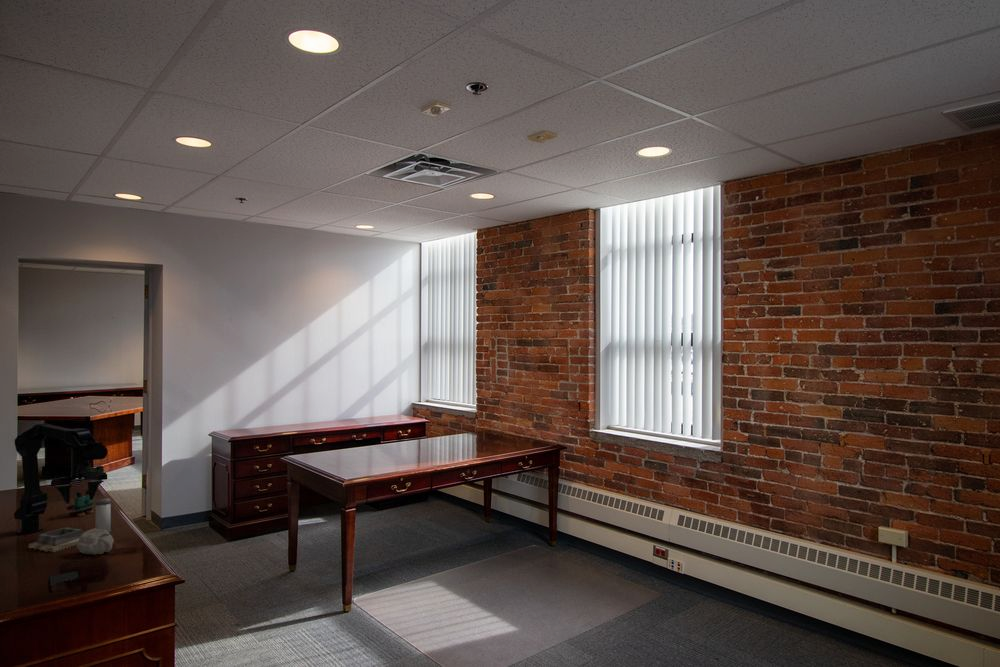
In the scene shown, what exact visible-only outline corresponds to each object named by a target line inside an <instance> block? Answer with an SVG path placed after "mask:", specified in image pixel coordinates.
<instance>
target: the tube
mask: <svg viewBox="0 0 1000 667" xmlns="http://www.w3.org/2000/svg"><path fill="white" fill-rule="evenodd" d="M111 503H112V498H101V499H97V500H95V501H94V506H95V528H96V529H104V530H107V531H108V532H110V533H111V524H112V522H111V516H112V515H111V514H112V513H111V511H112V510H111Z"/></svg>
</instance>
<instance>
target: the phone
mask: <svg viewBox="0 0 1000 667" xmlns="http://www.w3.org/2000/svg"><path fill="white" fill-rule="evenodd" d="M76 577H77V578H79V573H78V571H70V572H65V573H60V574H54V575H52V576H50V577H49V587H50V586H51V584H52V585H53V586H54V585H55V584H56V583H58V582H61V581H63V582H64V581H68V580H71V581H72V580H73V579H76Z"/></svg>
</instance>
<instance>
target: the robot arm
mask: <svg viewBox="0 0 1000 667" xmlns="http://www.w3.org/2000/svg"><path fill="white" fill-rule="evenodd" d="M47 437H52V438H55V439H59V440H63V442H64V443H66V444H68V445H69V447H68V448H67V449H66V450H67V451H71V463H70V464H69V465H68V468H71V469H70V470H71V472H70V475H69V474H68V476H64V477H63V476H62V477H55V478H54V477H53V478H52V479H51V481H50V487H52V486H53V488H54V489H57V490H58V492H59V493H60V495H61V496H62V499H63V500H64V502H65V504H70V501H71V500H70V499H71V498H70V497H71V493H70V492H71V488H72V485H73V484H72V485H71V483H77V482H78V483H80V482H85V481H88V482H87V490H89V498H90V500H93V501H94V497H95V494H96V492H97V490H98V488H99V486H101V484H102V483H105V480H108V474H107V473H106V472H105V470H104V466H103V465H97V466H96V467H95V466H94V467H93V464H92V462H90V461H96V460H97V461H99V460H103V459H105V458H106V457H107V456H108V453H109V451H108V450H109V449H108V448H107V446H105V445H104V444H103V441H97V439H96V438H95V437H94V436H93V435H92V432H90V430H89V428H67V427H63V426H58V425H54V424H50V423H47V422H46V423H45V422H44V423H38V424H35V425H33V426H32V427H31V428H28V430H26V431H23V432H22V433H21V434H19V435H17V436H16V438H14V446H15V450H16V452H17V454H19V456H20V457H21V463H22V465H21V466H22V474H23V475H22V477H23V488H24V493H23V494H22V496H21V499H20V500H19V501H20V502H19V507H18V509H16V510H15V512H14V513H13V517H14V520H20V521H19V523H20V524H19V525H20V526H19V527H20V530H16V532H17V533H16V534H20V533H23V534H22V535H29V534H28V533H30V534H33V533H36V532H35V531H37V532H39V530H40V531H43V530H44V528H43V527H42V528H41V527H40V516H41V515H45V512H46V509H47V507H48V503H49V500H48V494H47V492H45V493H44V492H43V491H42V489H41V484H40V483H41V482H40V473H39V472H40V471H39V460H38V459H39V458H38V454H39V452H40V450H41V448H42V442H43V441H44V440H45V439H46V438H47ZM32 532H33V533H32Z"/></svg>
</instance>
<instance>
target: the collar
mask: <svg viewBox="0 0 1000 667" xmlns="http://www.w3.org/2000/svg"><path fill="white" fill-rule="evenodd" d="M83 533H84V529H80V528H75V527H74V528H73V527H67V526H65V527H61V528H58V529H54V530H51V531H47V532H43V533H39V534H38V535H37V541H35V542H32V543H28V544H27V545H28V546H27V547H28V549H31V548H34V549H33V550H36V549H39V550H38V551H42V550H44V551H43V552H48V551H50V552H49V553H53V552H54V553H57V552H59V550H60V551H63V550H66V549H69V548H72V547H71V546H73V547H75V546H74V545H76V543H77V542H78V541H79V539H80V537H81V535H82V534H83ZM68 547H69V548H68ZM65 548H66V549H65ZM62 549H63V550H62ZM56 551H57V552H56Z"/></svg>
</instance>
